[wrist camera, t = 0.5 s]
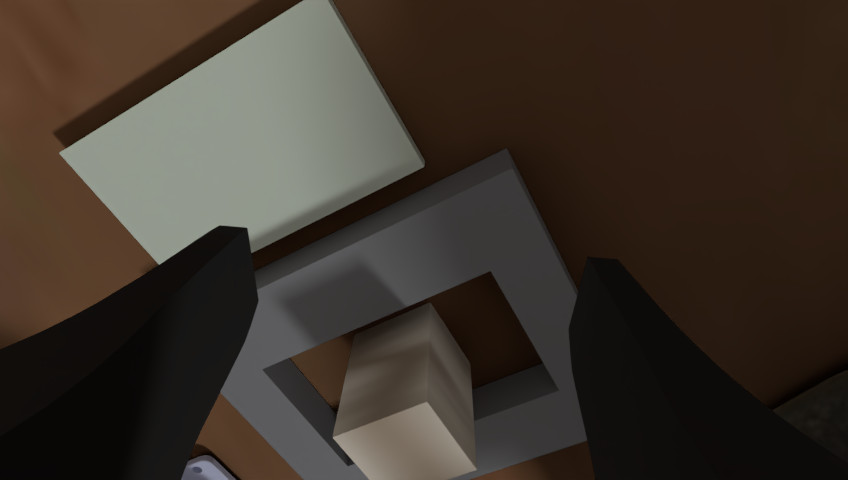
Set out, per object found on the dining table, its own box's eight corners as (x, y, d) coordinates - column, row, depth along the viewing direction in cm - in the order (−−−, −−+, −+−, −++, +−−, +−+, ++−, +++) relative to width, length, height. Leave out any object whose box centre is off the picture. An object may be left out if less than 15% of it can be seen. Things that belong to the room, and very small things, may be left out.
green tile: (185, 280, 25) (180, 288, 24) (67, 147, 22) (59, 153, 22) (425, 160, 22) (424, 166, 21) (325, -13, 19) (321, -11, 18)
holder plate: (348, 487, 32) (343, 520, 30) (183, 306, 26) (164, 334, 24) (627, 391, 27) (640, 423, 26) (506, 147, 22) (512, 167, 20)
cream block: (397, 391, 28) (387, 499, 23) (354, 334, 26) (332, 437, 21) (470, 363, 27) (476, 469, 22) (430, 302, 25) (427, 401, 20)
